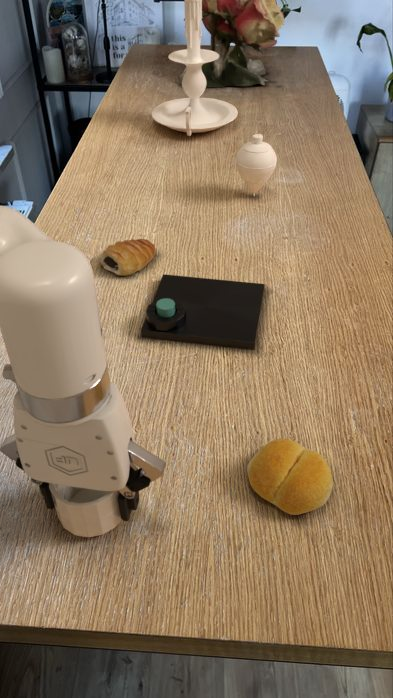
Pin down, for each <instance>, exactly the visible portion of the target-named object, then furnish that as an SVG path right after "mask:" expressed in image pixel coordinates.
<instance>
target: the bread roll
mask: <svg viewBox="0 0 393 698" xmlns="http://www.w3.org/2000/svg"><path fill="white" fill-rule="evenodd" d="M246 472H247V473H246V474H247V477H248V481H249V485H250V487H251V488H252V489H253V490H254V492H255V493H256V494H257V495H259V496H260V497H261V498H262V499H264V500H265V501H267V502H269V503H270V504H272V505H274V506H276V507H277V508H278V509H279V510H281V511H282V512H284V513H286V514H288V515H291V516H298V515H301V514H307V513H309V512H313V511H315V510H317V509H319V508H321V507H323V506H324V505H325V504H326V503H327V502H328V500H329V499H330V496H331V493H332V490H333V486H334V485H333V484H334V480H333V479H334V477H333V474H332V470H331V468H330V466H329V464H328V463H327V461H326V459H324V457H323V456H322V455H321V454H320V453H319V452H317V451H315V450H312V449H309V448H306V447H304V446H303V445H302V444H300V443H299V442H297V441H295V440H292V439H288V438H277V439H274V440H271V441H270V442H268V443H266V444H265V445H263V446H261V448H260V449H259V450H258V451H257V452H256V453H255V455H254V456H252V458H251V459H250V460H249V462H248V464H247V465H246Z"/></svg>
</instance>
